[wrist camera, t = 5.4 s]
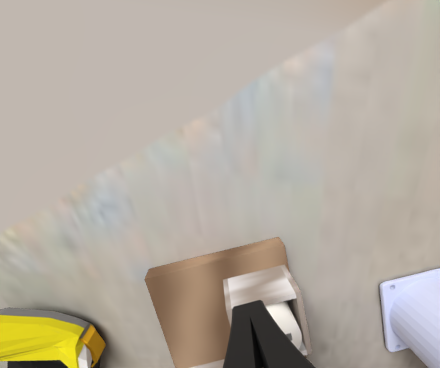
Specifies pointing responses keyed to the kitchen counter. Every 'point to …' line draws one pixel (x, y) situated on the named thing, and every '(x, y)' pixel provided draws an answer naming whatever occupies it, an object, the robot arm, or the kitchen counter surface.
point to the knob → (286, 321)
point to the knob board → (220, 298)
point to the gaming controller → (48, 340)
